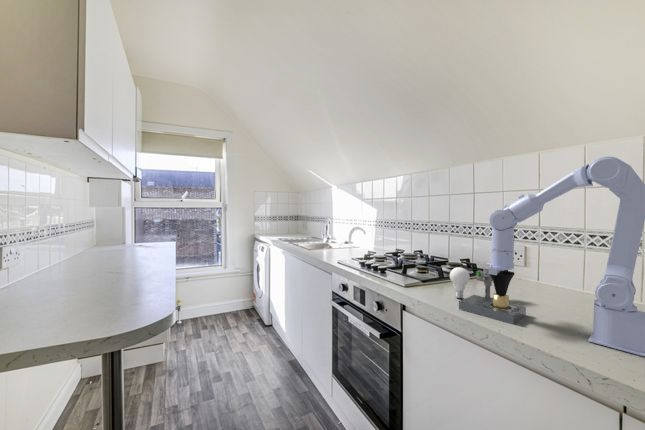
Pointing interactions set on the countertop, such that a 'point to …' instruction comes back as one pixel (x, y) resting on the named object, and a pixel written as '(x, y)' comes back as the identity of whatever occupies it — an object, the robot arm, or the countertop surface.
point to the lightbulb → (459, 280)
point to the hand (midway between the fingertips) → (500, 295)
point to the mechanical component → (485, 280)
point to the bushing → (500, 301)
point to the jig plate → (492, 309)
